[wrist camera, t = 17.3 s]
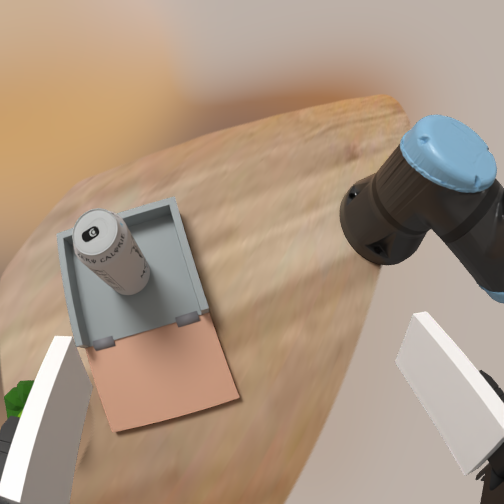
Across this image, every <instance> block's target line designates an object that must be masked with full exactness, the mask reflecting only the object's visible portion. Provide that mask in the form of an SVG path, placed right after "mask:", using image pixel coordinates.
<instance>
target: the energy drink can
mask: <svg viewBox="0 0 504 504" xmlns="http://www.w3.org/2000/svg"><path fill="white" fill-rule="evenodd" d="M72 239H73V246H74V251H75V254H76V256H77V257H78V259H79V260H80V261H81V262H82V263H83V264H84V265H86V266H87V267H88V268H89V269H90V270H91V271H92V272H94V273H95V274H96V275H97V276H98V277H99V278H100V279H102V280H103V281H104V282H105V283H106V284H108V285H109V286H110V287H111V288H112V289H114V290H115V291H116V292H118V293H120V294H122V295H133V294H136V293H138V292H140V291H141V290H142V289H143V288H144V287H145V286H146V284H147V283H148V280H149V276H150V268H149V264H148V262H147V260H146V259H145V257H144V255H143V254H142V252H141V250H140V248H139V247H138V245H137V243H136V241H135V240H134V238H133V236H132V234H131V232H130V231H129V229H128V227H127V225H126V223H125V222H124V220H123V219H122V218H121V217H120V216H119V215H117V214H116V213H114V212H111V211H108V210H105V209H100V208H98V209H92V210H89V211H87V212H85V213H84V214H83V215H82V216H81V217H80V218H79V219H78V220H77V222H76V223H75V225H74V228H73V233H72Z"/></svg>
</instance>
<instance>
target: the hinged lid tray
mask: <svg viewBox="0 0 504 504" xmlns="http://www.w3.org/2000/svg"><path fill="white" fill-rule="evenodd" d="M117 215H119V216H120V217H121V218H122V219H123V220H124V222H125V223H126V225H127V227H128V229H129V231H130V232H131V234H132V236H133V238H134V240H135V241H136V243H137V245H138V247H139V248H140V250H141V252H142V254H143V255H144V257H145V259H146V260H147V262H148V264H149V268H150V276H149V280H148V283H147V284H146V286H145V287H144V288H143V289H142V290H141V291H140V292H138V293H136V294H133V295H122V294H120V293H118V292H116V291H115V290H114V289H112V288H111V287H110V286H109V285H108V284H106V283H105V282H104V281H103V280H102V279H100V278H99V277H98V276H97V275H96V274H95V273H94V272H92V271H91V270H90V269H89V268H88V267H87V266H86V265H84V264H83V263H82V262H81V261H80V260H79V259H78V257H77V256H76V254H75V251H74V246H73V239H72V233H73V228H71V229H69V230H66V231H63V232H60V233H57V243H58V251H59V259H60V267H61V274H62V280H63V286H64V292H65V298H66V303H67V308H68V313H69V318H70V323H71V327H72V332H73V336H74V340H75V344H76V347H81V348H85V349H86V353H87V356H88V360H89V364H90V367H91V371H92V374H93V377H94V381H95V384H96V387H97V390H98V393H99V396H100V399H101V402H102V405H103V408H104V411H105V414H106V417H107V419H108V422H109V425H110V427H111V430H112V432H117V431H121V430H126V429H131V428H135V427H139V426H144V425H148V424H152V423H156V422H160V421H164V420H168V419H171V418H175V417H179V416H182V415H186V414H189V413H193V412H196V411H200V410H203V409H206V408H210V407H213V406H216V405H219V404H222V403H225V402H228V401H231V400H234V399H237V398H240V397H239V394H238V392H237V389H236V387H235V384H234V381H233V378H232V376H231V373H230V370H229V368H228V365H227V362H226V359H225V356H224V354H223V351H222V348H221V345H220V342H219V340H218V337H217V334H216V331H215V328H214V325H213V322H212V319H211V316H210V313H209V307H208V304H207V301H206V298H205V295H204V291H203V288H202V285H201V282H200V279H199V276H198V273H197V270H196V267H195V263H194V260H193V257H192V254H191V250H190V247H189V244H188V241H187V237H186V234H185V231H184V227H183V224H182V220H181V217H180V214H179V210H178V207H177V203H176V200H175V196H174V197H171V198H167V199H164V200H160V201H157V202H153V203H150V204H146V205H143V206H140V207H136V208H133V209H130V210H127V211H123V212H120V213H117Z"/></svg>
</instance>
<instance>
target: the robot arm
mask: <svg viewBox="0 0 504 504" xmlns="http://www.w3.org/2000/svg"><path fill="white" fill-rule="evenodd" d="M488 150H489V148H488V146H487V145H486V143H485V142H484V141H483V140H482V139H481V138H480V137H479V135H477V133H475V132H474V131H473V130H472V129H471V128H469V127H468V126H466V125H465V124H463V123H462V122H460V121H458V120H456V119H453V118H451V117H448V116H447V117H445V116H442V115H429V116H426V117H424V118H422V119H420V120H419V121H418V122H417V123H416V124H415V126H414V127H413V128H412V129H411V130H410V131H408V132H407V133H405V135H404V136H403V137H402V139H401V143H400V144H399V146H398V147H397V148H396V149H395V150H394V152H393V153H392V154H391V155H390V157H389V158H388V159H387V160H386V162H385V163H384V164H383V165H382V166H381V168H380V169H379V170H378V171H377V173H374V174H372V175H370V176H368V177H366V178H364V179H361V180H359V181H358V182H356V183H355V184H354V185H353V186H352V187H351V188H350V189H349V190H348V192H347V193H346V194H345V196H344V198H343V200H342V202H341V206H340V222H341V226H342V229H343V232H344V234H345V236H346V238H347V240H348V241H349V243H350V244H351V245H352V247H353V248H354V249H355V250H356V251H357V252H358V253H359V254H360V255H362V256H363V257H364V258H366V259H368V260H370V261H372V262H374V263H377V264H381V265H394V264H398V263H400V262H402V261H404V260H405V259H407V258H409V257H410V256H411V255H412V254H413V253H414V252H415V251H416V250H417V249H418V247H419V245H420V244H421V242H422V240H423V238H424V237H425V235H426V233H427V231H429V230H430V229H432V230H433V231H434V232H435V233H436V234H437V235H438V236H439V237H440V238H441V239H442V240H443V242H445V244H446V245H447V246H448V247H449V249H450V250H451V251H452V252H453V253H454V254H455V256H456V257H457V258H458V259H459V260H460V262H461V263H462V264H463V265H464V267H465V268H466V269H467V270H468V272H469V273H470V274H471V275H472V276H473V278H474V279H475V281H476V282H477V284H478V285H479V286H480V287H481V288H482V289H483V290H485V291H486V292H487V294H488V295H489V296H490V297H491V298H492V299H494V300H495V301H497V302H500V303H504V188H503V187H502V185H501V184H500V183H499V182H498V181H497V180H496V179H495V177H496V173H497V167H496V162H495V159H494V157H493V155H492V154H491V153H490V152H489V151H488ZM395 363H396V365H397V366H398V368H399V369H400V371H401V372H402V374H403V376H404V377H405V379H406V380H407V382H408V383H409V385H410V386H411V388H412V389H413V391H414V393H415V394H416V395H417V397H418V399H419V401H420V402H421V403H422V405H423V407H424V409H425V410H426V412H427V413H428V415H429V417H430V418H431V420H432V421H433V423H434V425H435V426H436V428H437V430H438V431H439V433H440V434H441V436H442V438H443V440H444V441H445V443H446V444H447V446H448V448H449V450H450V452H451V453H452V455H453V457H454V458H455V460H456V462H457V464H458V465H459V467H460V469H461V471H462V472H463V474H464V476H466V475H467V474H469V473H471V472H473V471H474V470H476V469H478V468H479V467H480V466H481V465H482V464H483V463H484V462H485V461H486V460H488V461H489V464H488V465H487V466H485V467H484V468H483V469H482V470H481V471H480V472H479V473H478V475H477V476H476V480H478V479H479V478H480V477H481V476H482V475H484V474H485V476H483V478H482V479H481V481H484V486H483V491H482V497H481V503H480V504H504V393H503V391H502V390H501V388H498V385H497V383H496V382H495V381H494V380H493V379H492V377H491V376H489V375H488V374H486V373H485V372H483V371H482V370H480V371H478V370H477V369H476V368H475V366H474V365H473V364H472V363H471V362H470V360H469V359H468V358H467V357H466V356H465V354H464V353H463V352H462V351H461V350H460V349H459V347H458V346H457V345H456V344H455V343H454V342H453V341H452V339H450V337H449V336H448V335H447V334H446V332H445V331H444V330H443V329H442V328H441V327H440V326H439V325H438V323H437V322H436V321H435V320H434V319H433V318H432V317H431V316H430V315H429V314H428V313H427V312H420V313H414V314H413V315H412V318H411V321H410V323H409V326H408V329H407V332H406V334H405V337H404V340H403V342H402V345H401V348H400V350H399V353H398V355H397V358H396V360H395ZM92 389H93V386H92V384H91V382H90V379H89V377H88V375H87V372H86V370H85V368H84V365H83V363H82V360H81V358H80V355H79V353H78V350H77V347H76V345H75V342H74V339H73V337H70V336H55V337H54V339H53V341H52V343H51V345H50V347H49V350H48V352H47V354H46V356H45V358H44V361H43V363H42V365H41V367H40V370H39V372H38V374H37V377H36V379H35V381H34V384H33V386H32V389H31V391H30V394H29V396H28V399H27V401H26V404H25V407H24V409H23V412H22V415H21V417H15V416H10V417H9V418H8V419H7V421H6V422H5V423H4V424H3V426H2V427H1V430H0V504H70V496H71V489H72V483H73V477H74V471H75V464H76V460H77V455H78V449H79V444H80V440H81V434H82V430H83V426H84V421H85V417H86V412H87V408H88V404H89V400H90V396H91V392H92Z"/></svg>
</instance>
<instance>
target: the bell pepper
mask: <svg viewBox="0 0 504 504" xmlns="http://www.w3.org/2000/svg"><path fill="white" fill-rule="evenodd" d="M33 384H34V381H31V380H27V381H20V382H19V383H18V384H17V387H14V388H12V389H11V390H10V391H9V392H8V393H7V394H6V395H5V397H4V400H5V405H6V411H7V418H9V417H10V416H15V417H21V415H22V412H23V409H24V407H25V404H26V401H27V399H28V396H29V394H30V391H31V389H32V386H33Z"/></svg>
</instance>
